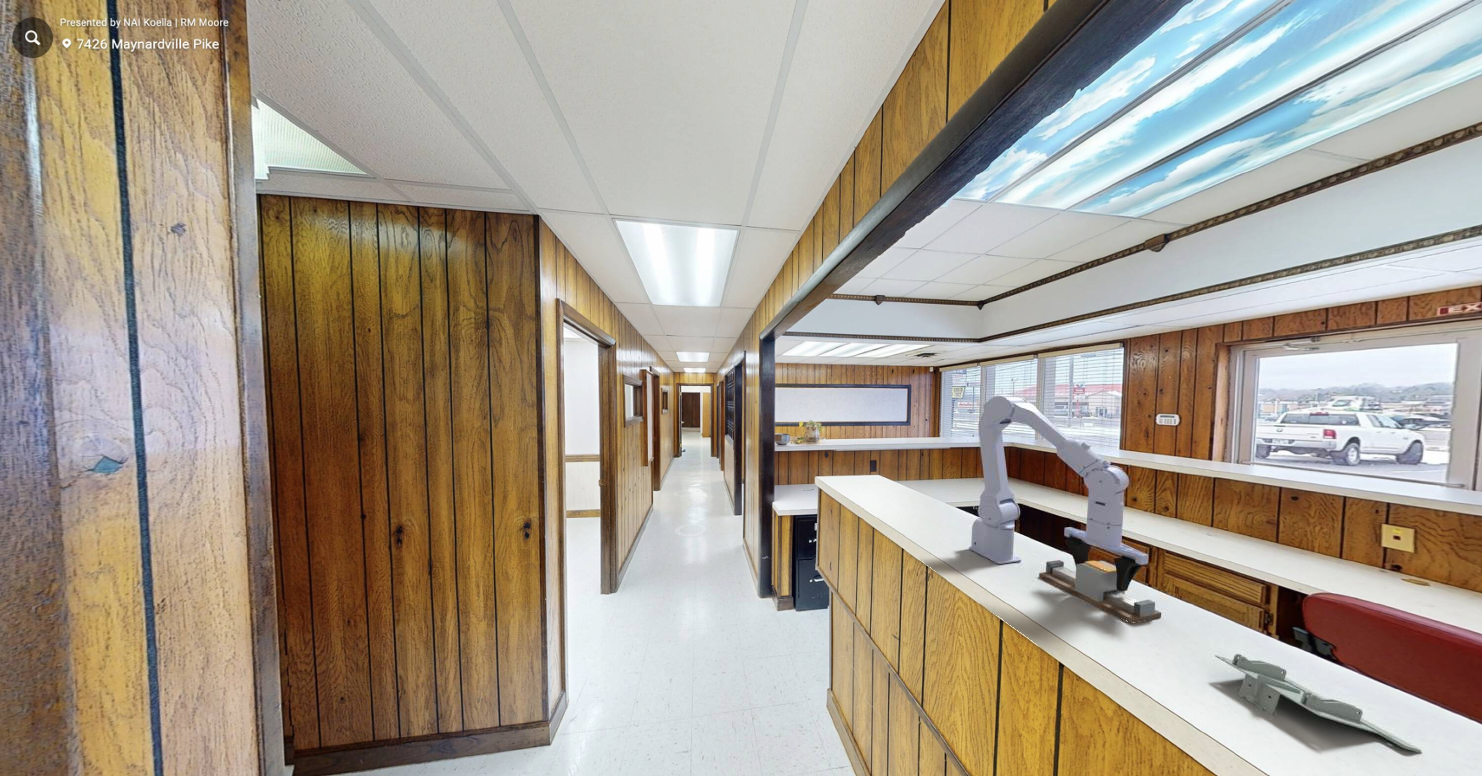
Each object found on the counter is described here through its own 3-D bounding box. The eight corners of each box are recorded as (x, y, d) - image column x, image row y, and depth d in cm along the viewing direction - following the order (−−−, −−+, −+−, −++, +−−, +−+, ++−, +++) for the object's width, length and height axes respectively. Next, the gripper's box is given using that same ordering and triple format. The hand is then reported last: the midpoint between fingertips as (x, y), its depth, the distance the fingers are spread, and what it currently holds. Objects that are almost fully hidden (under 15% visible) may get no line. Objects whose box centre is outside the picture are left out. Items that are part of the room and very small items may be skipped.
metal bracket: (1341, 713, 49) (1198, 634, 64) (1326, 754, 50) (1186, 666, 65) (1435, 742, 50) (1272, 657, 65) (1420, 783, 50) (1260, 689, 65)
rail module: (1074, 590, 86) (1076, 563, 85) (1101, 586, 88) (1102, 559, 88) (1097, 601, 81) (1099, 573, 81) (1124, 596, 83) (1126, 568, 83)
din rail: (1045, 571, 94) (1046, 561, 94) (1059, 569, 95) (1059, 560, 95) (1139, 617, 76) (1140, 605, 76) (1154, 614, 77) (1155, 602, 77)
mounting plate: (1039, 577, 93) (1039, 573, 93) (1065, 573, 95) (1066, 569, 95) (1130, 623, 76) (1131, 618, 76) (1161, 617, 78) (1161, 612, 78)
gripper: (1056, 510, 90) (1053, 566, 90) (1133, 535, 76) (1129, 601, 76) (1077, 508, 92) (1074, 563, 92) (1156, 532, 78) (1152, 597, 78)
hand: (1100, 580), depth 84 cm, fingers open, 7 cm apart
